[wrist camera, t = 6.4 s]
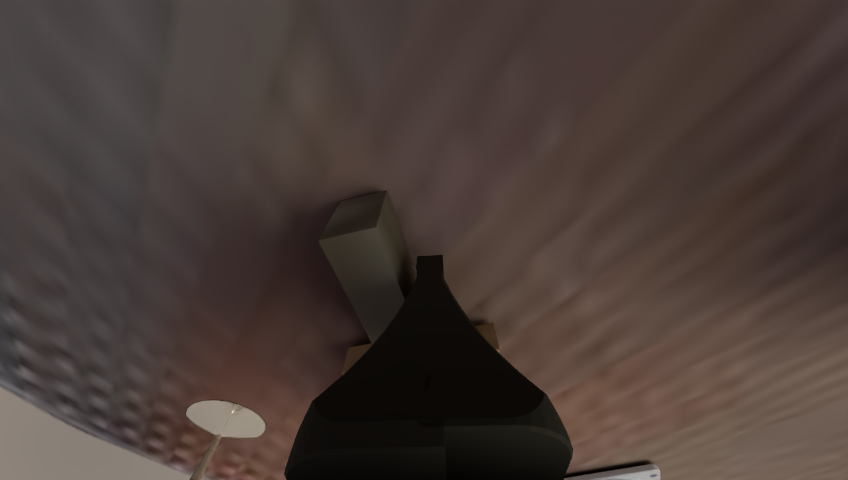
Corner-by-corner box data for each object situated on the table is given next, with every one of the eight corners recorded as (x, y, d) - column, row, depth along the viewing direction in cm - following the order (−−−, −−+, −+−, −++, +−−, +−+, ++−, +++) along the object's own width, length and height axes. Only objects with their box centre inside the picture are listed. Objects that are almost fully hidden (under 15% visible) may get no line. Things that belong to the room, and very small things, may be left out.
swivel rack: (463, 171, 10) (474, 205, 8) (509, 406, 18) (521, 457, 16) (271, 217, 11) (233, 259, 9) (392, 421, 19) (387, 471, 17)
